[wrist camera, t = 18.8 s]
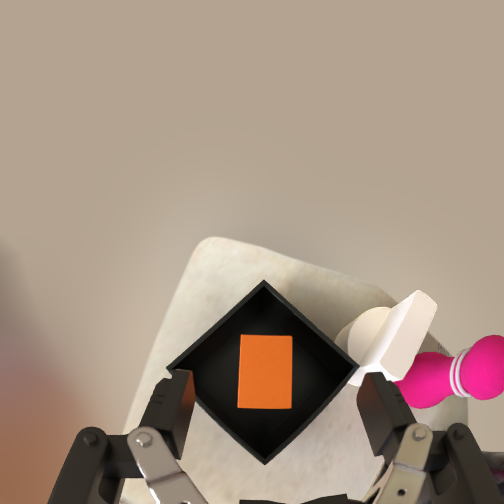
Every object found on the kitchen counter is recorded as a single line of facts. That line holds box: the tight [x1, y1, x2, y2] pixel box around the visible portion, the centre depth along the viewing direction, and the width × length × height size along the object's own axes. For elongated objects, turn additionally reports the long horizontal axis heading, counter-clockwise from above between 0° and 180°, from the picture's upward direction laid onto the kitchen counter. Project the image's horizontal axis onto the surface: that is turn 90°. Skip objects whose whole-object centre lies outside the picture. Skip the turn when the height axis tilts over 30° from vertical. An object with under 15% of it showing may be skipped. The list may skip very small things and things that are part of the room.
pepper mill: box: [393, 335, 504, 409], centre depth 21 cm, size 7×7×20 cm
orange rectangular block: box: [238, 335, 292, 409], centre depth 26 cm, size 4×6×10 cm
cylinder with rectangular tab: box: [334, 290, 438, 387], centre depth 27 cm, size 9×9×12 cm
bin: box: [166, 280, 360, 465], centre depth 27 cm, size 13×13×9 cm
